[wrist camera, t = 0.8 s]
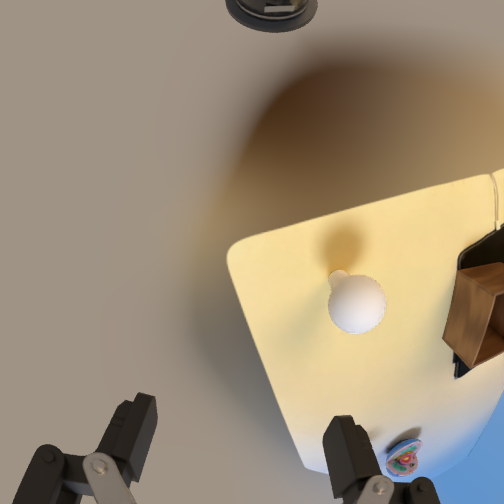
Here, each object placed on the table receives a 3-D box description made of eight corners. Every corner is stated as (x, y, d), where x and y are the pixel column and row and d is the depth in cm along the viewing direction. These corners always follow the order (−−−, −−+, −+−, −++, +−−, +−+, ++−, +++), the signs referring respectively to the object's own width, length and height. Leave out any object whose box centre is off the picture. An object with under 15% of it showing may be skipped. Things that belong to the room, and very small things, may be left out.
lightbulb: (304, 270, 33) (326, 312, 23) (346, 244, 32) (384, 276, 22) (326, 306, 35) (351, 355, 24) (364, 282, 34) (402, 323, 23)
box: (457, 270, 33) (495, 293, 24) (500, 261, 33) (534, 279, 24) (442, 338, 37) (470, 369, 28) (485, 323, 37) (512, 347, 28)
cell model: (425, 427, 45) (439, 453, 36) (403, 453, 48) (413, 478, 39) (394, 434, 45) (407, 464, 36) (373, 460, 48) (382, 487, 39)
